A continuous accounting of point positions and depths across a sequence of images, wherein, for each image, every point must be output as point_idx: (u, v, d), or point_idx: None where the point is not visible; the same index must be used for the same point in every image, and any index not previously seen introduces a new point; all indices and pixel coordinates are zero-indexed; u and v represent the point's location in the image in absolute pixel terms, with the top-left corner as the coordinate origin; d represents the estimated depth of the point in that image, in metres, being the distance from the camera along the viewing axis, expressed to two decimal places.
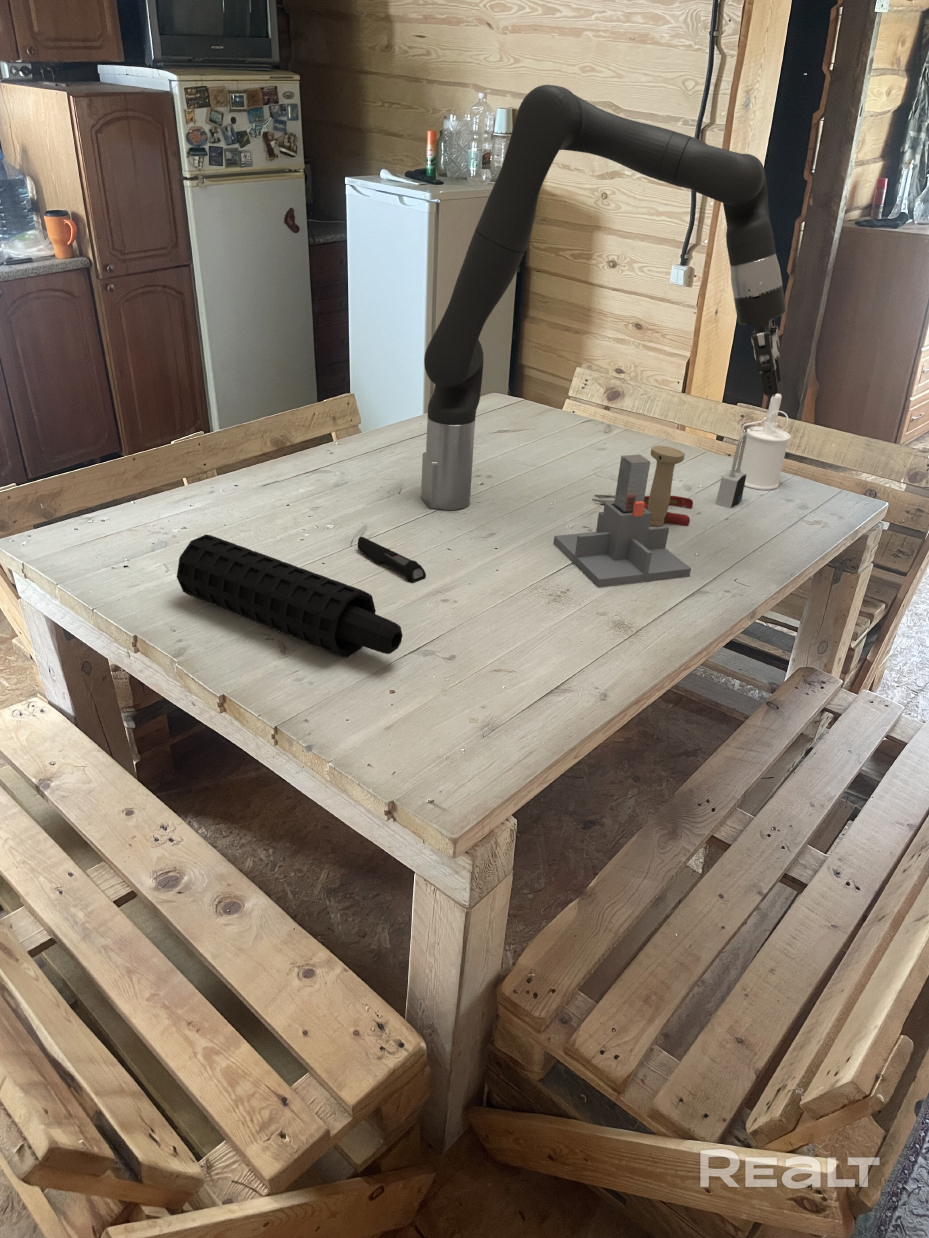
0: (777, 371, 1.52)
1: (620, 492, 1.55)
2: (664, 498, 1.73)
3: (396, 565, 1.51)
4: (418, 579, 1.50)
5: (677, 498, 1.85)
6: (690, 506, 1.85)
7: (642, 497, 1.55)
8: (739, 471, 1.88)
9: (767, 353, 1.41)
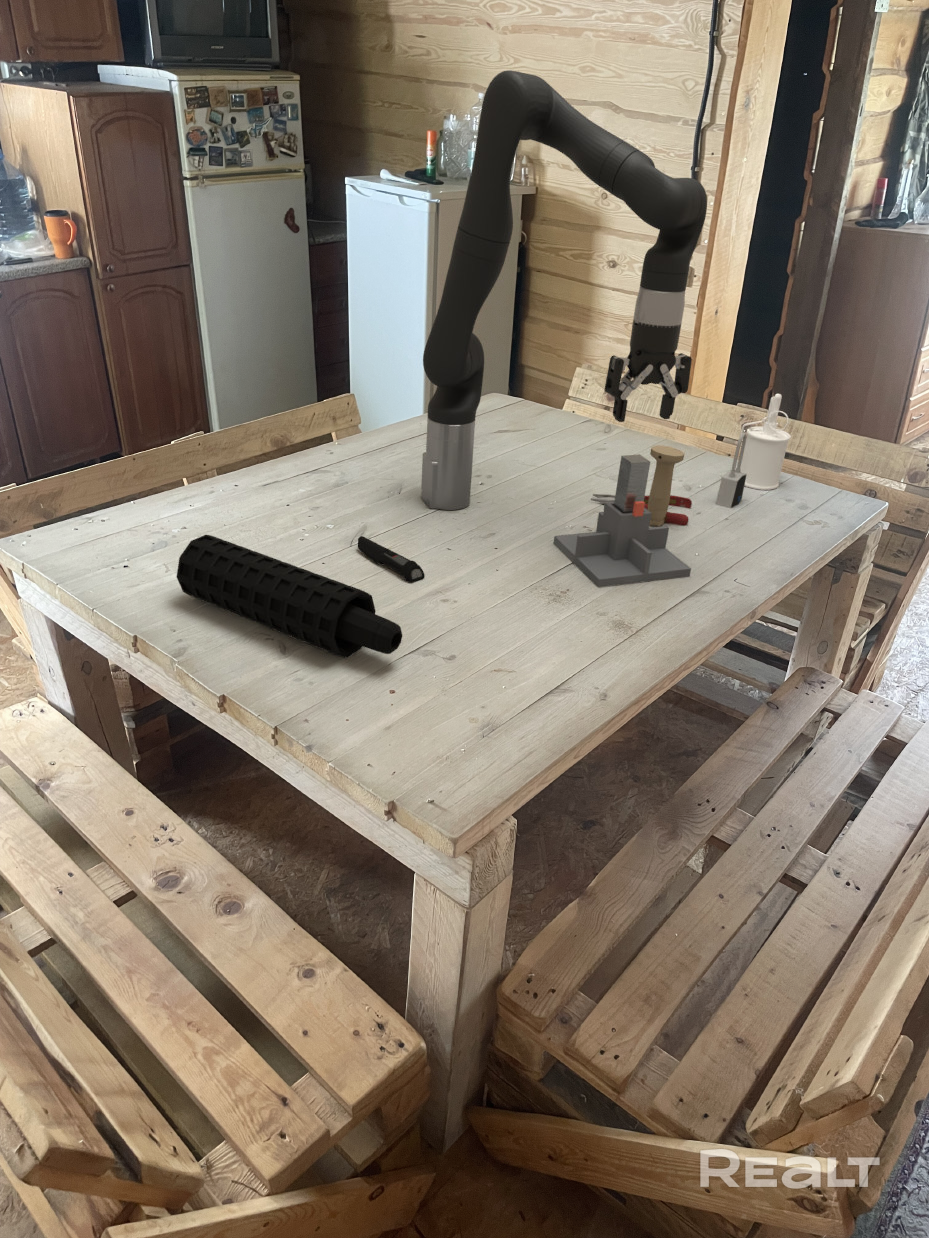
0: (666, 408, 1.49)
1: (620, 492, 1.55)
2: (664, 498, 1.73)
3: (395, 565, 1.51)
4: (417, 579, 1.50)
5: (676, 498, 1.85)
6: (689, 506, 1.85)
7: (642, 497, 1.55)
8: (739, 471, 1.88)
9: (612, 379, 1.43)
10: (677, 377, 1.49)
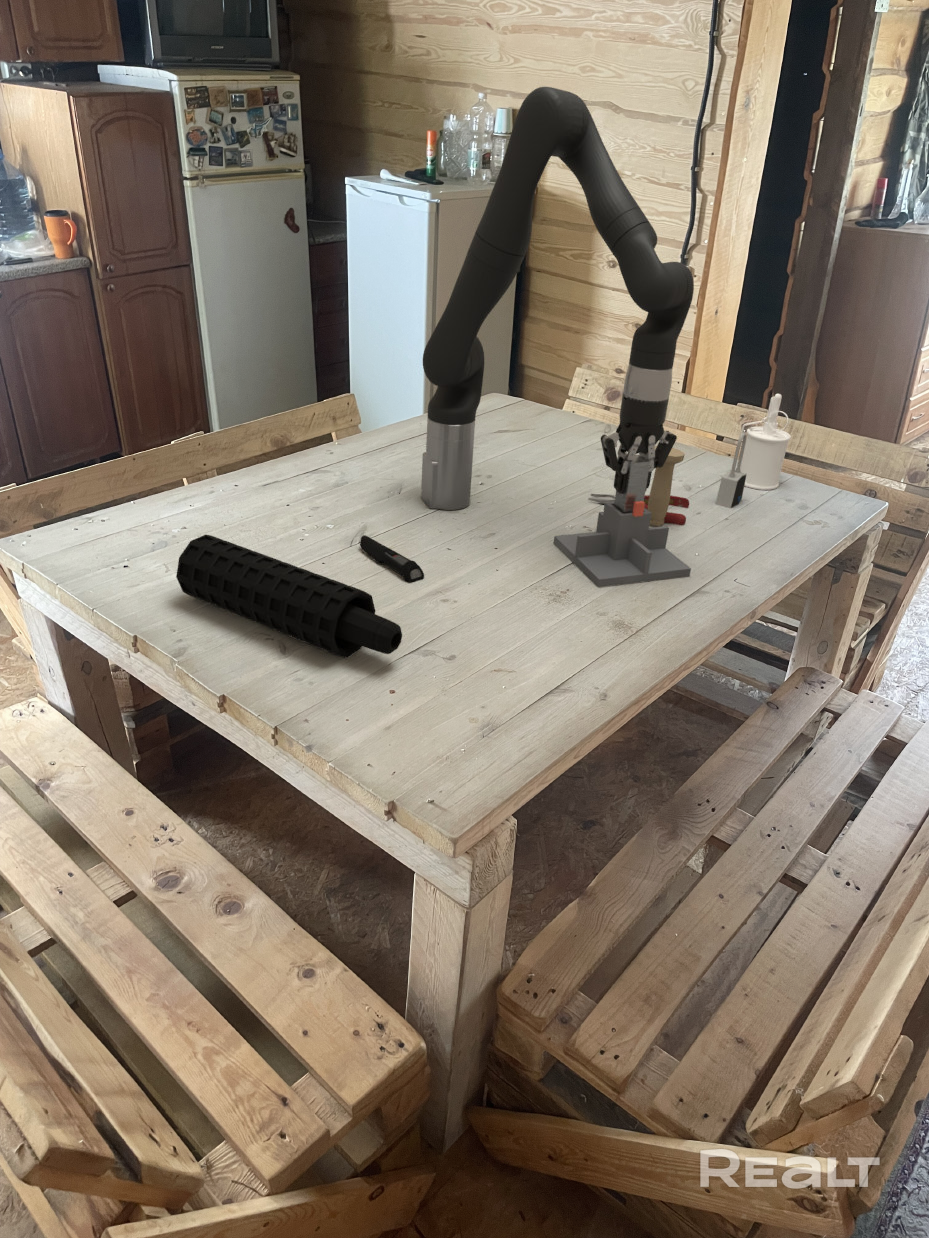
0: None
1: None
2: (664, 498, 1.73)
3: (394, 565, 1.51)
4: (416, 579, 1.50)
5: (673, 498, 1.86)
6: (686, 506, 1.86)
7: (642, 497, 1.55)
8: (739, 471, 1.88)
9: (608, 457, 1.50)
10: (657, 451, 1.54)
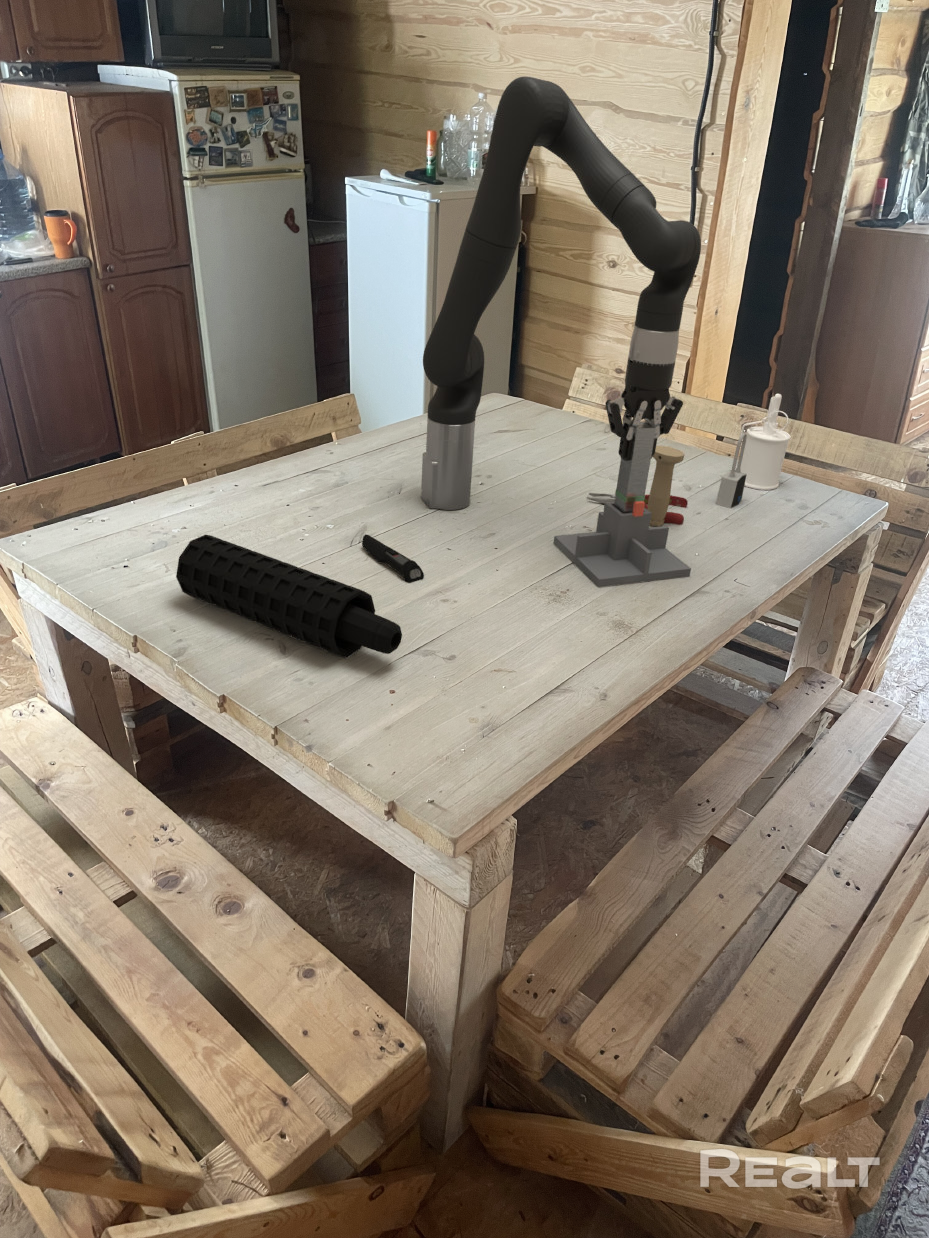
0: None
1: None
2: (664, 498, 1.73)
3: (395, 564, 1.51)
4: (415, 579, 1.50)
5: (672, 497, 1.86)
6: (684, 505, 1.86)
7: (647, 465, 1.52)
8: (739, 471, 1.88)
9: (613, 422, 1.47)
10: (662, 418, 1.52)
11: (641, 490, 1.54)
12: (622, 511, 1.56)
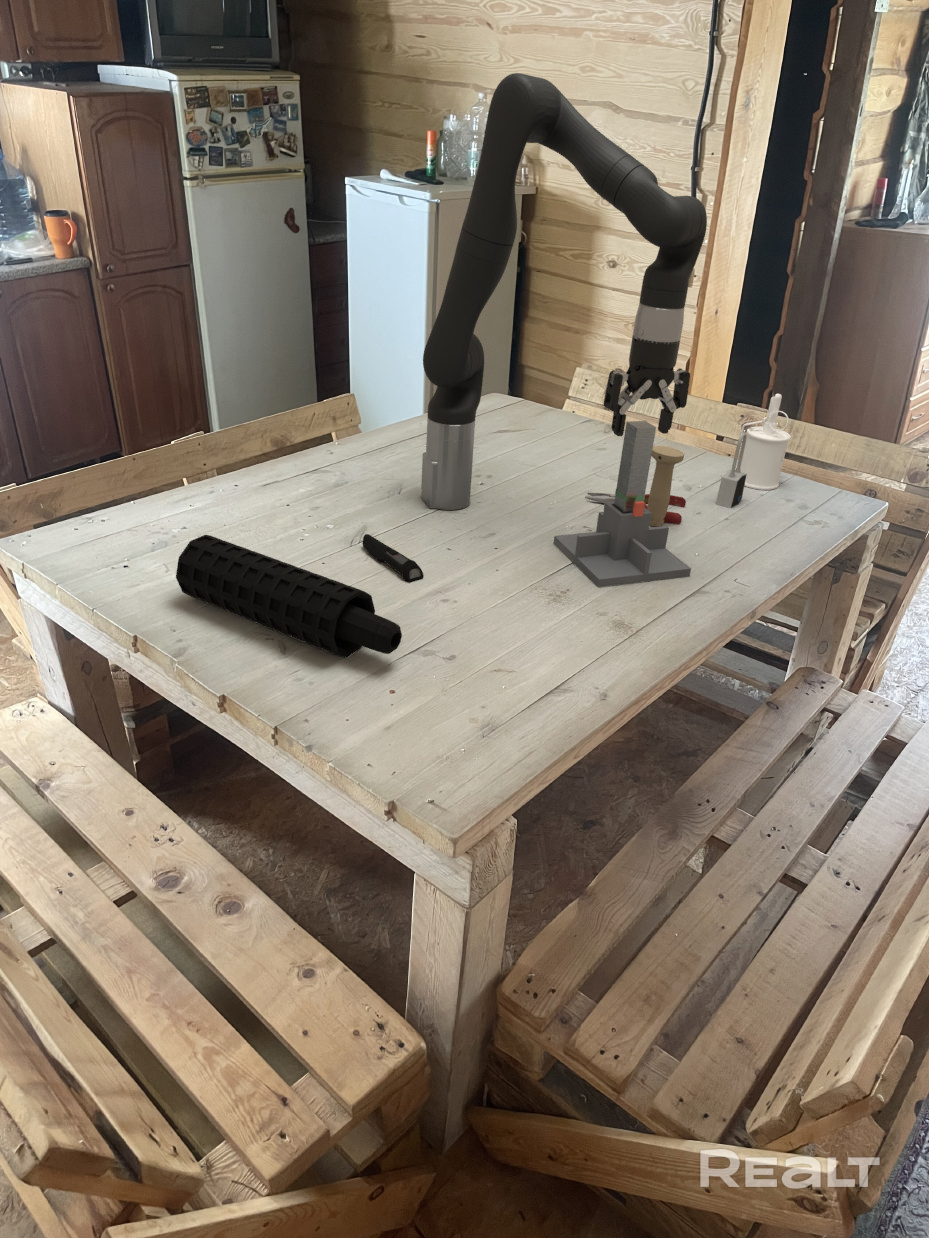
0: (664, 423, 1.50)
1: (625, 459, 1.52)
2: (664, 498, 1.73)
3: (394, 564, 1.51)
4: (415, 579, 1.50)
5: (670, 497, 1.86)
6: (683, 505, 1.86)
7: (648, 464, 1.52)
8: (739, 471, 1.88)
9: (611, 394, 1.44)
10: (676, 392, 1.50)
11: (641, 490, 1.54)
12: (622, 511, 1.55)
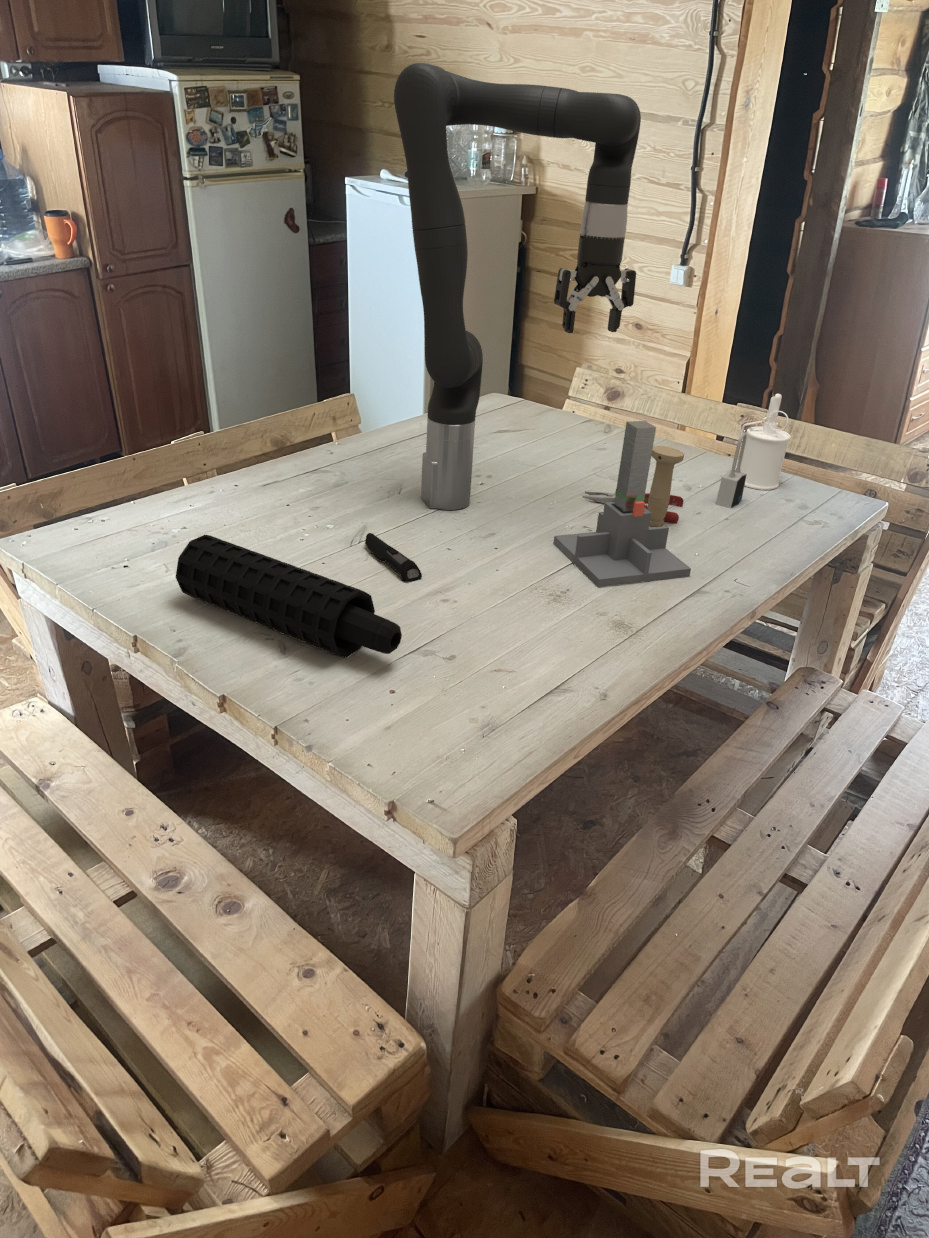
0: (613, 322, 1.58)
1: (625, 459, 1.52)
2: (664, 499, 1.73)
3: (393, 564, 1.51)
4: (413, 579, 1.50)
5: None
6: (680, 504, 1.86)
7: (648, 464, 1.52)
8: (739, 471, 1.88)
9: (560, 290, 1.52)
10: (623, 292, 1.57)
11: (641, 490, 1.54)
12: (622, 511, 1.55)
